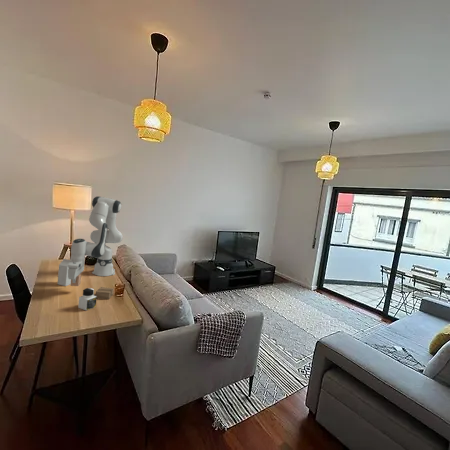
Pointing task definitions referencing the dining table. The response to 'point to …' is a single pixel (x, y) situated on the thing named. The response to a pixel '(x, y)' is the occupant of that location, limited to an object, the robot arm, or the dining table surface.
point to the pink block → (78, 281)
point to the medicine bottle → (87, 299)
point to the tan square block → (104, 293)
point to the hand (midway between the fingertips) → (75, 281)
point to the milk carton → (63, 273)
